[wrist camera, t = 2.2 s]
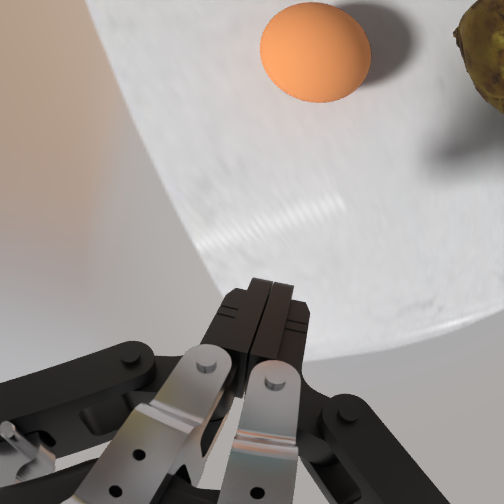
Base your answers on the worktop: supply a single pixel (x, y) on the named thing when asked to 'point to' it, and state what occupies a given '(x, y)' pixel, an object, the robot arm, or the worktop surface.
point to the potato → (484, 48)
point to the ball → (315, 52)
